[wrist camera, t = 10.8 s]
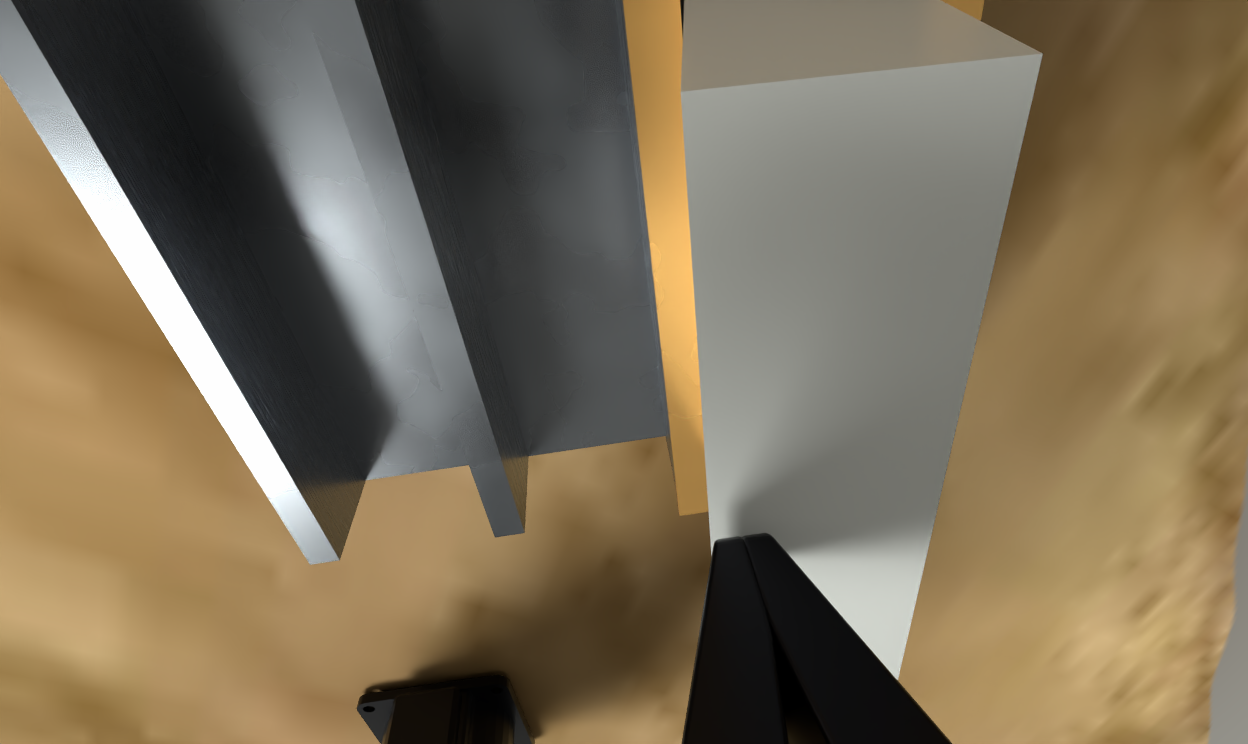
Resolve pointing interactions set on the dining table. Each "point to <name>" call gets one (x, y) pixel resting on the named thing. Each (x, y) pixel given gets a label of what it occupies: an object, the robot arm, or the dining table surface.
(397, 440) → the rack
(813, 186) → the panel
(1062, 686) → the dining table surface
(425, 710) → the robot arm
